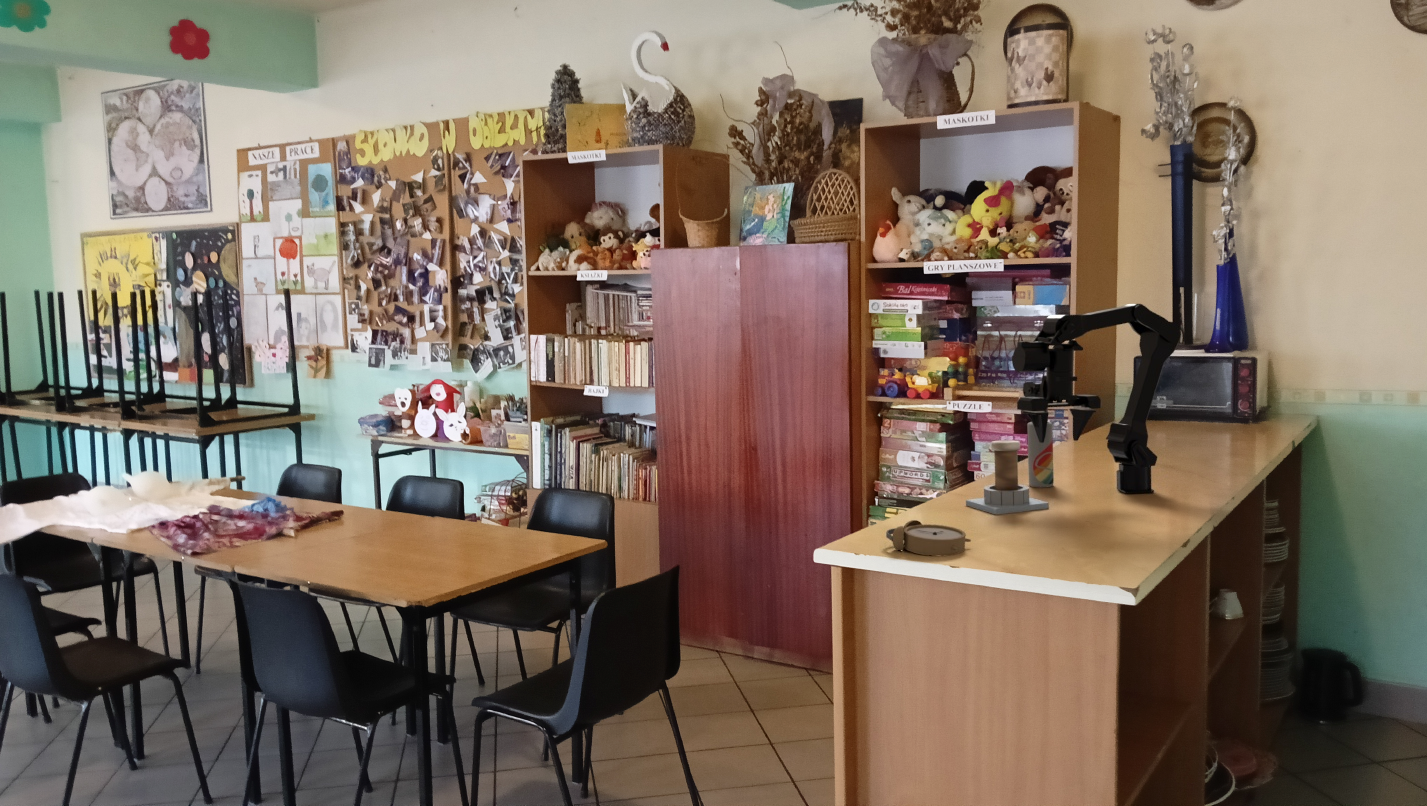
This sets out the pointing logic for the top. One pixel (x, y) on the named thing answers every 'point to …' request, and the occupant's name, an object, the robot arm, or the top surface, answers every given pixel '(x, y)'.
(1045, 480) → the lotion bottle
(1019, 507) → the collar socket
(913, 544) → the alarm clock
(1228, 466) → the top surface
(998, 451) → the walnut peg
